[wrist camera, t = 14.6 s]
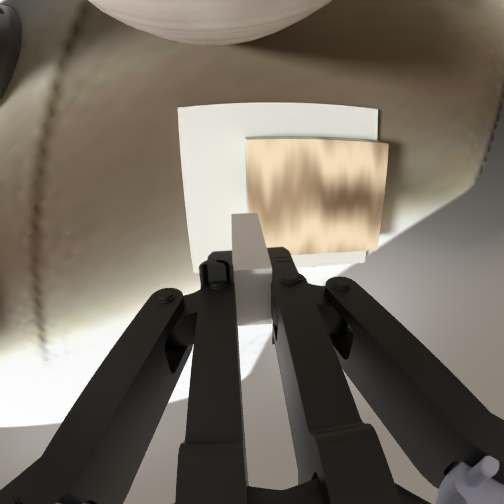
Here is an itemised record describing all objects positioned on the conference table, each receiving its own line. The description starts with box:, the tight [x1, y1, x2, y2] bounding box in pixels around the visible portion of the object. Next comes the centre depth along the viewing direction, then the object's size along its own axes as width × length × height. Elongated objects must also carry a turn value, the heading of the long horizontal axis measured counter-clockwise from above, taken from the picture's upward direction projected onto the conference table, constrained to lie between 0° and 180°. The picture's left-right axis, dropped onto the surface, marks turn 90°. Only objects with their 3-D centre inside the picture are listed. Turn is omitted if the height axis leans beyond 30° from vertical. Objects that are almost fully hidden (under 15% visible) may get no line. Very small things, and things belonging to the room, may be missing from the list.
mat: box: [178, 103, 378, 273], centre depth 27 cm, size 16×18×1 cm
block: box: [245, 136, 389, 255], centre depth 25 cm, size 10×3×12 cm
